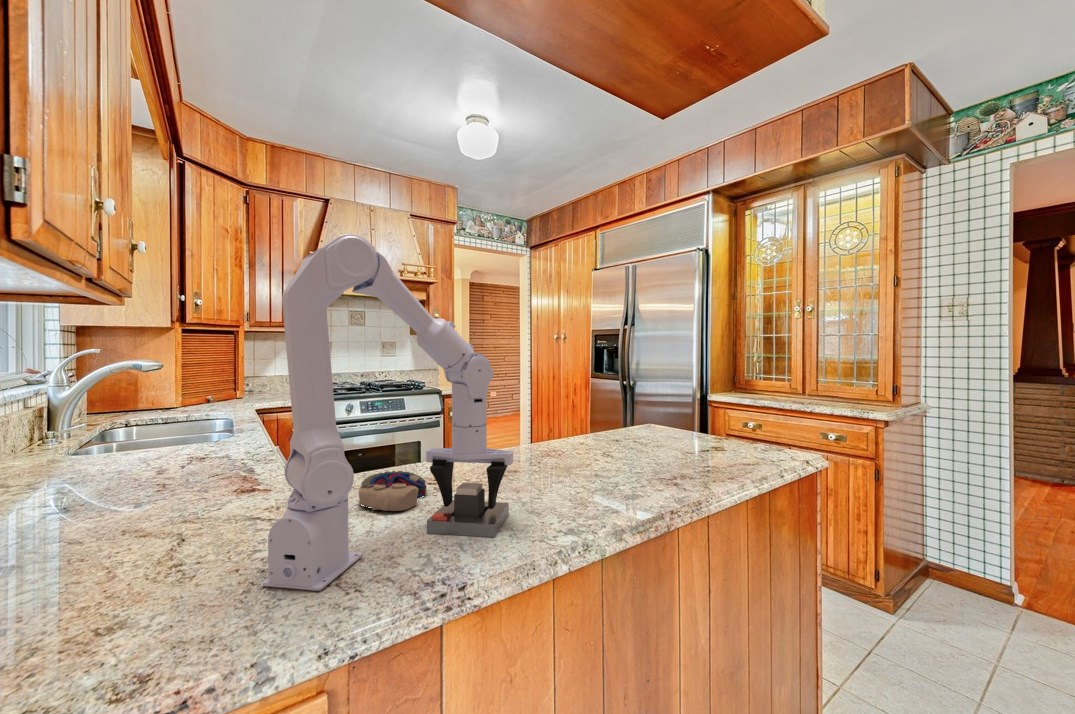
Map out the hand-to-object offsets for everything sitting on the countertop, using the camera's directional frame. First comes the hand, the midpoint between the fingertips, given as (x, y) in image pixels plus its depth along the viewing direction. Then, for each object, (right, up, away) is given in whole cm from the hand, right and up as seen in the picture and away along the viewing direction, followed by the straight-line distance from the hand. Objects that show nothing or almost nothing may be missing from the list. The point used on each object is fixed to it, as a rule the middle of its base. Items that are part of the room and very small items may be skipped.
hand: (469, 505), depth 74 cm
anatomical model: (-17, -3, +12) cm, 21 cm away
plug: (0, -3, 0) cm, 3 cm away
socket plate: (0, -3, 0) cm, 3 cm away
